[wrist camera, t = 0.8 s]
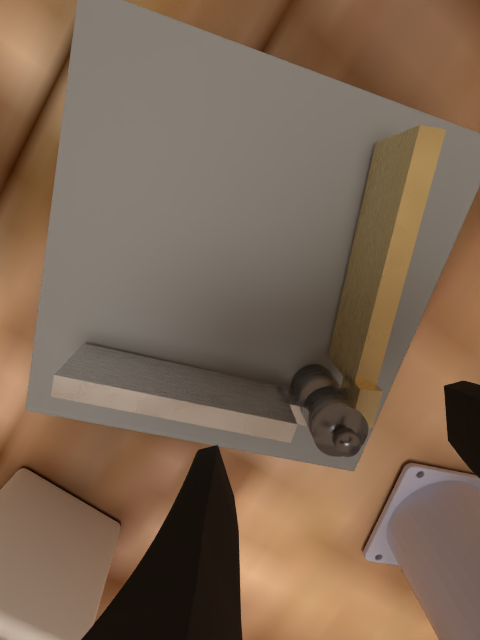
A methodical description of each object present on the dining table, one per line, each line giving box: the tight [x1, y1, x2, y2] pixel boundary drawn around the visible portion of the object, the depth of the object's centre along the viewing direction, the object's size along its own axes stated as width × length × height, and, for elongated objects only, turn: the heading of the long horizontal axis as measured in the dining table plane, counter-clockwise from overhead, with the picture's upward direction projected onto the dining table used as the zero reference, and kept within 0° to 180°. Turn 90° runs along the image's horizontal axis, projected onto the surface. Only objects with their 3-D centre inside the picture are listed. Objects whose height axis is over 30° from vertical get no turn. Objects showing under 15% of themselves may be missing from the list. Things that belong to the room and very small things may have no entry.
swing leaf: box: [302, 125, 446, 457], centre depth 16 cm, size 3×13×4 cm, turn 172°
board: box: [26, 0, 480, 471], centre depth 18 cm, size 19×19×1 cm
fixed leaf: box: [51, 343, 361, 457], centre depth 16 cm, size 13×3×5 cm, turn 74°
